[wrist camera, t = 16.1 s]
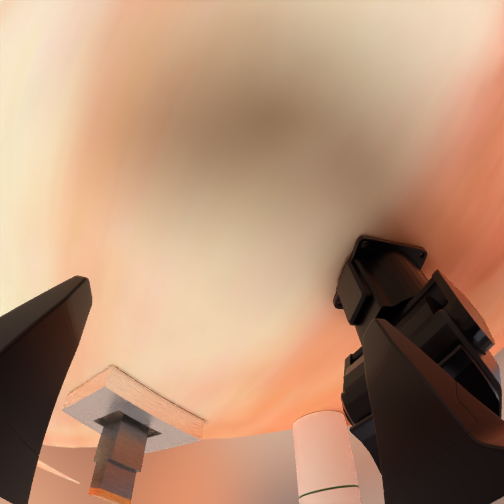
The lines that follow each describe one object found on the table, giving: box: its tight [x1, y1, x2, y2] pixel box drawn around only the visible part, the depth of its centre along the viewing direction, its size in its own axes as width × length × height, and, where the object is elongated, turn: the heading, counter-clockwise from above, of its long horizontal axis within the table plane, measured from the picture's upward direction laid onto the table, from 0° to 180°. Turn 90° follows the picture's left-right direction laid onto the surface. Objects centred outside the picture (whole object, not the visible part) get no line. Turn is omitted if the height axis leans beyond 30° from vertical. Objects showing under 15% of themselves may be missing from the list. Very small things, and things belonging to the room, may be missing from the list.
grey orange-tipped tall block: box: [89, 410, 149, 504], centre depth 27 cm, size 5×4×14 cm
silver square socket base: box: [62, 365, 204, 454], centre depth 32 cm, size 14×14×3 cm
